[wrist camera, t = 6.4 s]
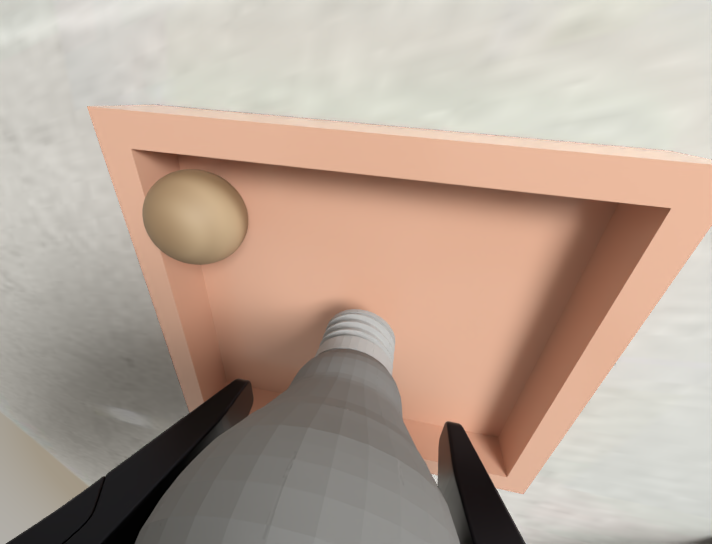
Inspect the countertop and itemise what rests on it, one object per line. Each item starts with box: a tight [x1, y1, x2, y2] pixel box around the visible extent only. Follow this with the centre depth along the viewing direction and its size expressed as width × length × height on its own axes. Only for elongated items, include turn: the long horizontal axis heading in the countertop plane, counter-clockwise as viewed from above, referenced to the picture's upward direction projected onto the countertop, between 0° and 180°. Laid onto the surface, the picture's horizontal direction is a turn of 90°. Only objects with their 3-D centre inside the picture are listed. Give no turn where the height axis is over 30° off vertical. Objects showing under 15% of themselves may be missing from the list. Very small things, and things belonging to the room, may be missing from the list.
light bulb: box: [135, 309, 460, 544], centre depth 7 cm, size 6×6×10 cm
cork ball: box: [142, 169, 248, 265], centre depth 10 cm, size 3×3×3 cm
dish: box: [87, 105, 712, 494], centre depth 12 cm, size 16×14×2 cm
